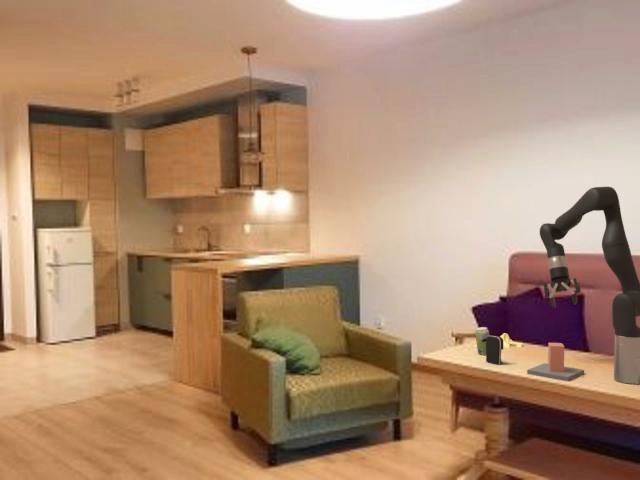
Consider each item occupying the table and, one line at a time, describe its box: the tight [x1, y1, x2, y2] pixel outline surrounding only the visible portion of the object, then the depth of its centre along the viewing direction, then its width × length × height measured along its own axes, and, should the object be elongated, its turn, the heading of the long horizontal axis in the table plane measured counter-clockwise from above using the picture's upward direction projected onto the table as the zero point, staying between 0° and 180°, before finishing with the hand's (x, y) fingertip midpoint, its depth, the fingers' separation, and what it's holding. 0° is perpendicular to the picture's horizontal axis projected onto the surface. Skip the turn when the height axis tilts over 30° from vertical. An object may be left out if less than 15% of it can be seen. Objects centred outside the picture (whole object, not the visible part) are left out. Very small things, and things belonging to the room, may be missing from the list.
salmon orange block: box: [547, 342, 565, 372], centre depth 244 cm, size 5×7×10 cm
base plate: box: [526, 362, 585, 382], centre depth 244 cm, size 16×16×2 cm
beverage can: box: [474, 326, 491, 356], centre depth 279 cm, size 6×7×12 cm
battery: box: [485, 335, 504, 365], centre depth 262 cm, size 7×4×11 cm, turn 35°
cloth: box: [499, 332, 525, 350], centre depth 301 cm, size 22×19×6 cm
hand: (564, 305), depth 260 cm, fingers open, 8 cm apart
